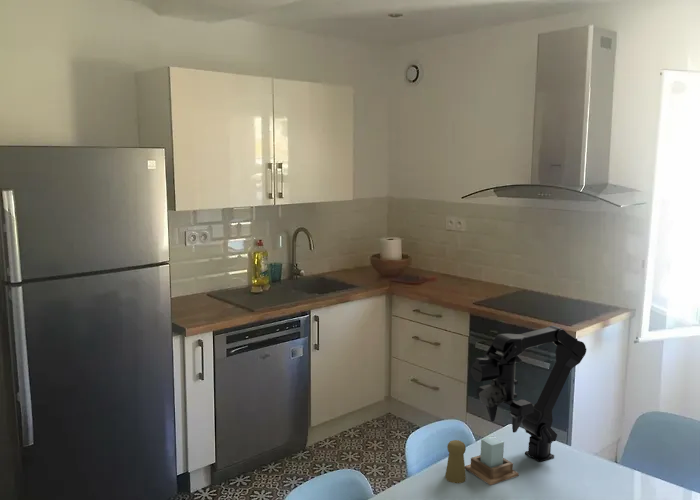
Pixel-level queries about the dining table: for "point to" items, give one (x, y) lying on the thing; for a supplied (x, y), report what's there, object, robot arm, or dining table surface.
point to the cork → (456, 462)
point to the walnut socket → (491, 471)
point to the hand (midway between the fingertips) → (503, 426)
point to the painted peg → (492, 451)
